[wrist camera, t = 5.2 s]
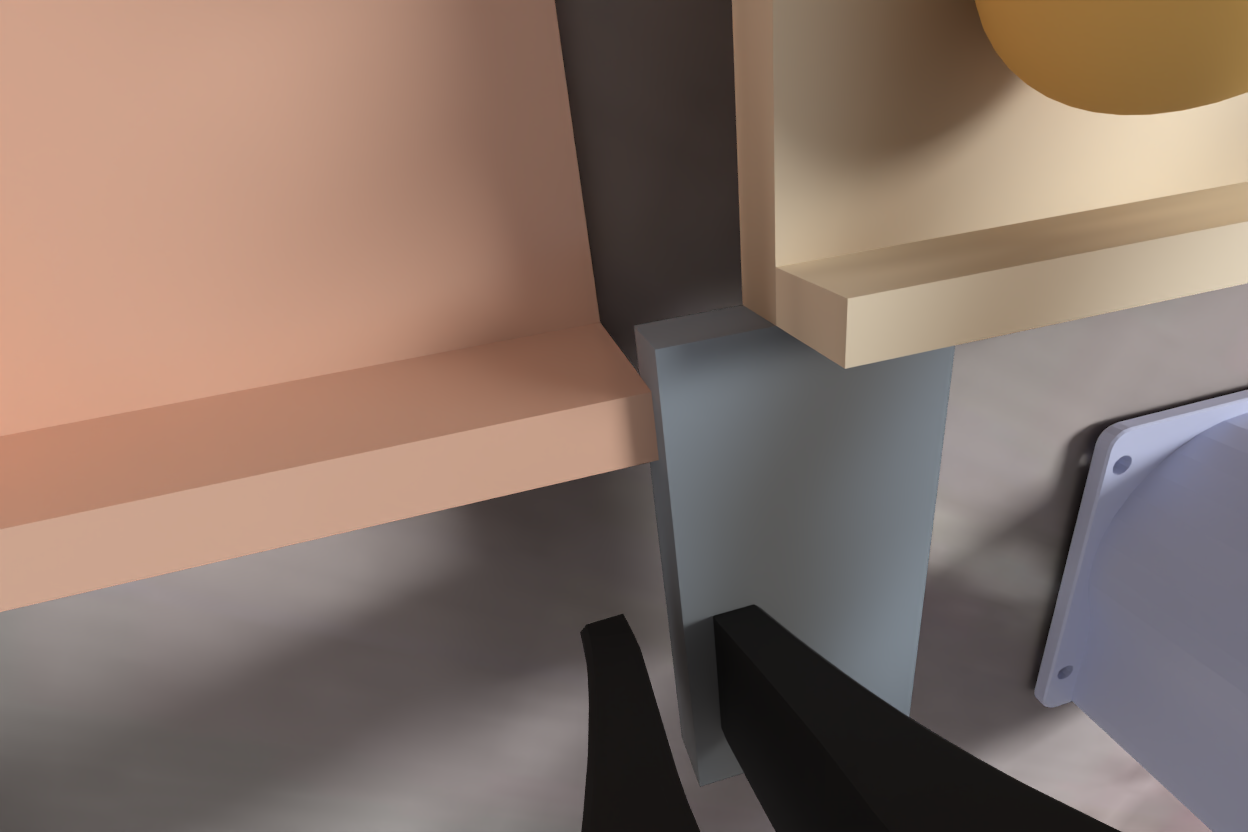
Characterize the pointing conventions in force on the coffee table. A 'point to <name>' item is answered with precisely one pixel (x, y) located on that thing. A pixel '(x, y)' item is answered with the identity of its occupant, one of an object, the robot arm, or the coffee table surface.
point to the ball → (1123, 51)
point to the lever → (891, 312)
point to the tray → (286, 279)
